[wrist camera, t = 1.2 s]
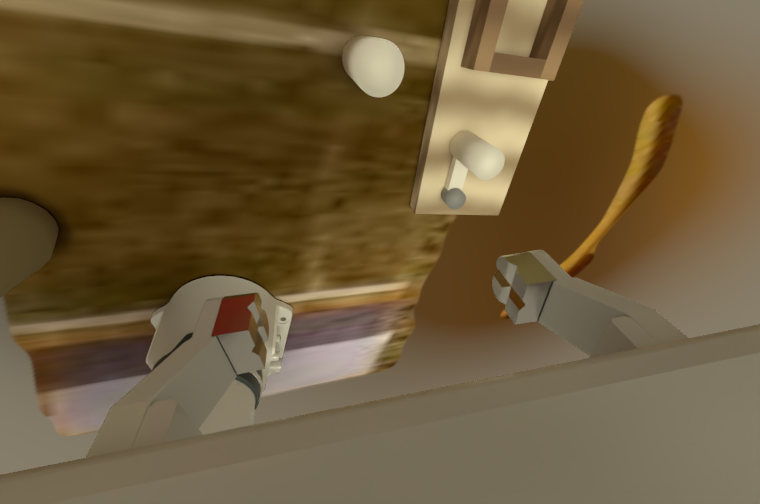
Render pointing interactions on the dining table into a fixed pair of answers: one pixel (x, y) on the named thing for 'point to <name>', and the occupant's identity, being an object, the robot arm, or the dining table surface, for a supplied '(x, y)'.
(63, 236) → the dining table surface
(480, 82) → the wooden board with socket
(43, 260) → the squeeze bottle
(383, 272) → the dining table surface
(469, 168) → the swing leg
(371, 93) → the loose leg
